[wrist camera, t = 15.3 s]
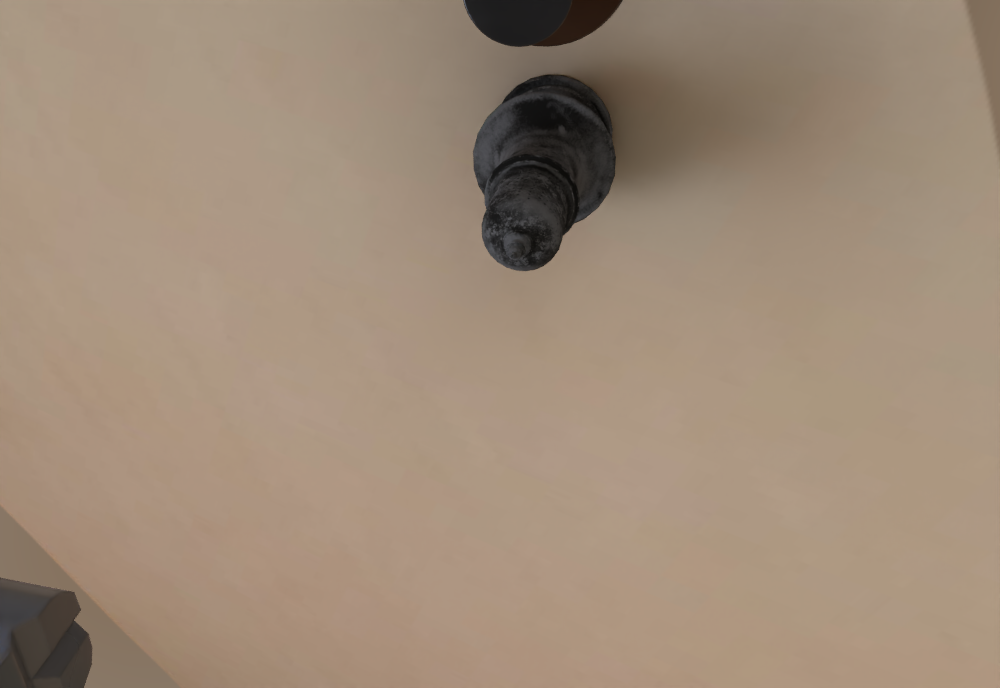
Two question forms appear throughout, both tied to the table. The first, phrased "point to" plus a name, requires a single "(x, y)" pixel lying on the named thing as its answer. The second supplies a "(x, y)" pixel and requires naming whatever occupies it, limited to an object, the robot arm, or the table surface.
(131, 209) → the table surface
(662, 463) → the table surface
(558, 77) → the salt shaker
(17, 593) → the robot arm
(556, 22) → the vinegar bottle
